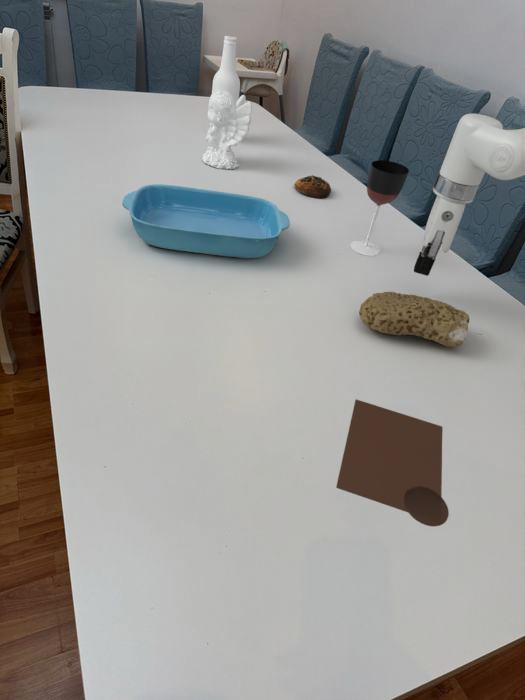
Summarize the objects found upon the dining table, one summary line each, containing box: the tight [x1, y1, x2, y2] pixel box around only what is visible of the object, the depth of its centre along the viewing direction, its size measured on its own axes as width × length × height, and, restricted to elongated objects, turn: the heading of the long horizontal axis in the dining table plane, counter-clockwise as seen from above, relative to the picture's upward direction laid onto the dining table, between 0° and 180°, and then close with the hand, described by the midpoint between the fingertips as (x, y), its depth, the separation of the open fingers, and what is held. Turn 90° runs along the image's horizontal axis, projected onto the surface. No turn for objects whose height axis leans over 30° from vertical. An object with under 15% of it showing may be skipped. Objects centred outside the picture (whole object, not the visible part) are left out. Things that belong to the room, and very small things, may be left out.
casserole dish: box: [122, 183, 291, 260], centre depth 112 cm, size 37×22×7 cm, turn 93°
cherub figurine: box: [201, 91, 253, 170], centre depth 147 cm, size 13×12×20 cm
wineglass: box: [349, 159, 410, 257], centre depth 116 cm, size 8×9×20 cm
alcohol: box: [208, 35, 241, 129], centre depth 160 cm, size 9×9×30 cm
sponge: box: [358, 291, 470, 348], centre depth 95 cm, size 13×8×20 cm
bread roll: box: [293, 174, 332, 199], centre depth 144 cm, size 11×11×5 cm
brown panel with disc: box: [335, 398, 449, 527], centre depth 72 cm, size 19×15×1 cm
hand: (420, 272), depth 104 cm, fingers closed
